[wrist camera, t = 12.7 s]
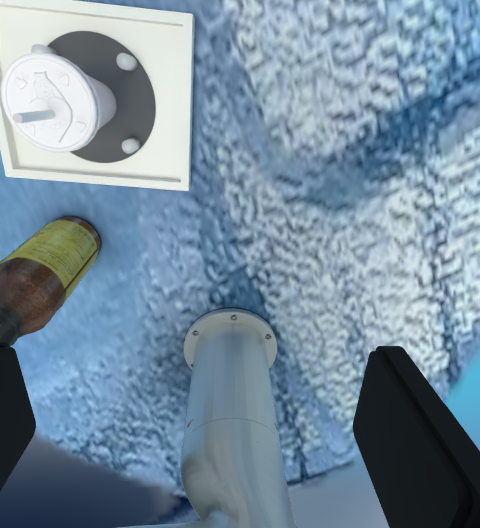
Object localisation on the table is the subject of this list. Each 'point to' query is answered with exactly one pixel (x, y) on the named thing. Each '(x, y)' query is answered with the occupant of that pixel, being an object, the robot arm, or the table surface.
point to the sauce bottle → (44, 275)
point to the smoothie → (54, 102)
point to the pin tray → (118, 81)
